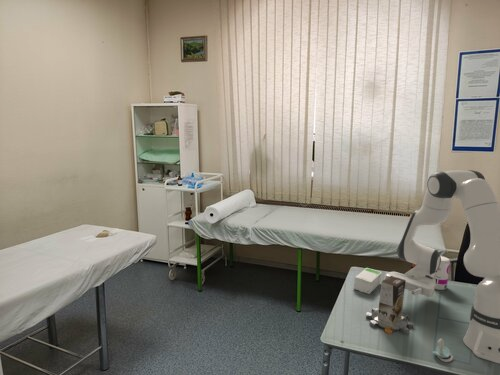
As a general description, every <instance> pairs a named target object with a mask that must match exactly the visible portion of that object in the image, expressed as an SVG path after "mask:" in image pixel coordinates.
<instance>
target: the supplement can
mask: <svg viewBox="0 0 500 375" xmlns="http://www.w3.org/2000/svg"><path fill="white" fill-rule="evenodd" d="M440 257H441V262H440V266H439V268H438V270H437V271H436V273H435V276H434V277H433V278H434V279H436V285H435V290H438V291H439V290H440V291H444V290H446V289H447V288H448V282H449V275H450V267H451V261H450V259H449V258H448V257H446V256H444V255H440Z"/></svg>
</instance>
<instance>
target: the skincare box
mask: <svg viewBox="0 0 500 375" xmlns="http://www.w3.org/2000/svg"><path fill="white" fill-rule="evenodd" d="M382 274H383V272H381V271H379V270H375V269H373V268H369V267H366V268H364V269H363V270H362V271H361V272H360V273H358V274H357V275H356V276H355V277H354V281H353V282H354V283H353V287H352V289H353V290H356V291H359V292H361V293H364V294H368V295H371V293H372V292H373V291H374V290H375V289H376V288H377V287H378V286H379V285H381V282H382Z"/></svg>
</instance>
